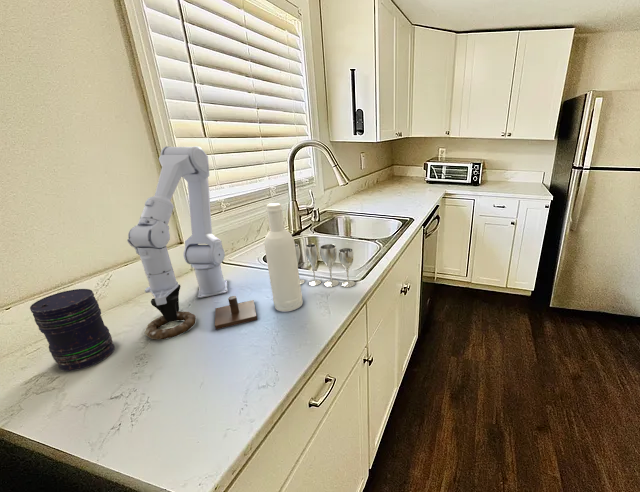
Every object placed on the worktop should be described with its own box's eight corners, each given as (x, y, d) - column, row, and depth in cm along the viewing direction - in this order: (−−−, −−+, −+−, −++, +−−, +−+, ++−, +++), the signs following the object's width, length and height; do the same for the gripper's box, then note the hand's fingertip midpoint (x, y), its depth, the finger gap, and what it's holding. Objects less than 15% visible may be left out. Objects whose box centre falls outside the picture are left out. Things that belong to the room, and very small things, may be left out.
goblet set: (357, 280, 110) (354, 243, 105) (353, 288, 104) (350, 249, 100) (278, 277, 113) (272, 241, 108) (270, 285, 107) (263, 247, 102)
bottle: (268, 309, 93) (249, 206, 82) (286, 296, 100) (270, 200, 89) (292, 314, 90) (276, 208, 80) (308, 300, 97) (295, 201, 87)
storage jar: (103, 338, 81) (81, 285, 75) (124, 350, 76) (102, 294, 71) (49, 363, 73) (20, 304, 67) (69, 377, 68) (39, 316, 63)
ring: (151, 323, 87) (148, 316, 86) (197, 313, 91) (195, 306, 90) (143, 346, 78) (140, 337, 77) (195, 333, 82) (192, 325, 82)
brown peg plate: (216, 311, 92) (211, 294, 90) (254, 303, 96) (250, 286, 94) (215, 329, 84) (210, 310, 82) (257, 319, 88) (253, 301, 86)
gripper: (145, 263, 87) (159, 307, 92) (133, 285, 75) (150, 334, 80) (176, 258, 90) (188, 301, 95) (169, 278, 78) (183, 326, 83)
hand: (173, 316), depth 88 cm, fingers open, 4 cm apart
